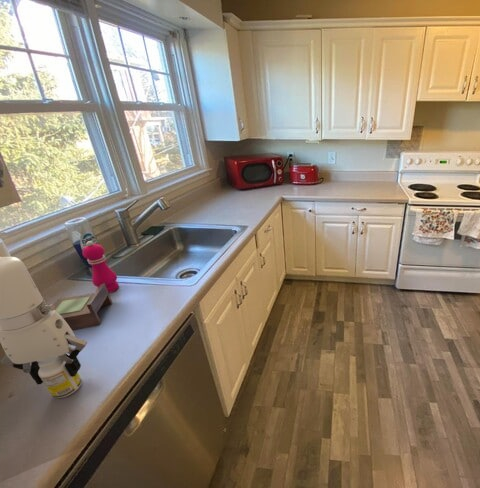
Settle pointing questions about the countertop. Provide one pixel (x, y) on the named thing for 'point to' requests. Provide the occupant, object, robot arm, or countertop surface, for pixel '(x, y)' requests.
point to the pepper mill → (100, 267)
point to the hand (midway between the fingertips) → (59, 374)
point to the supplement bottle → (58, 377)
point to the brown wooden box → (83, 308)
